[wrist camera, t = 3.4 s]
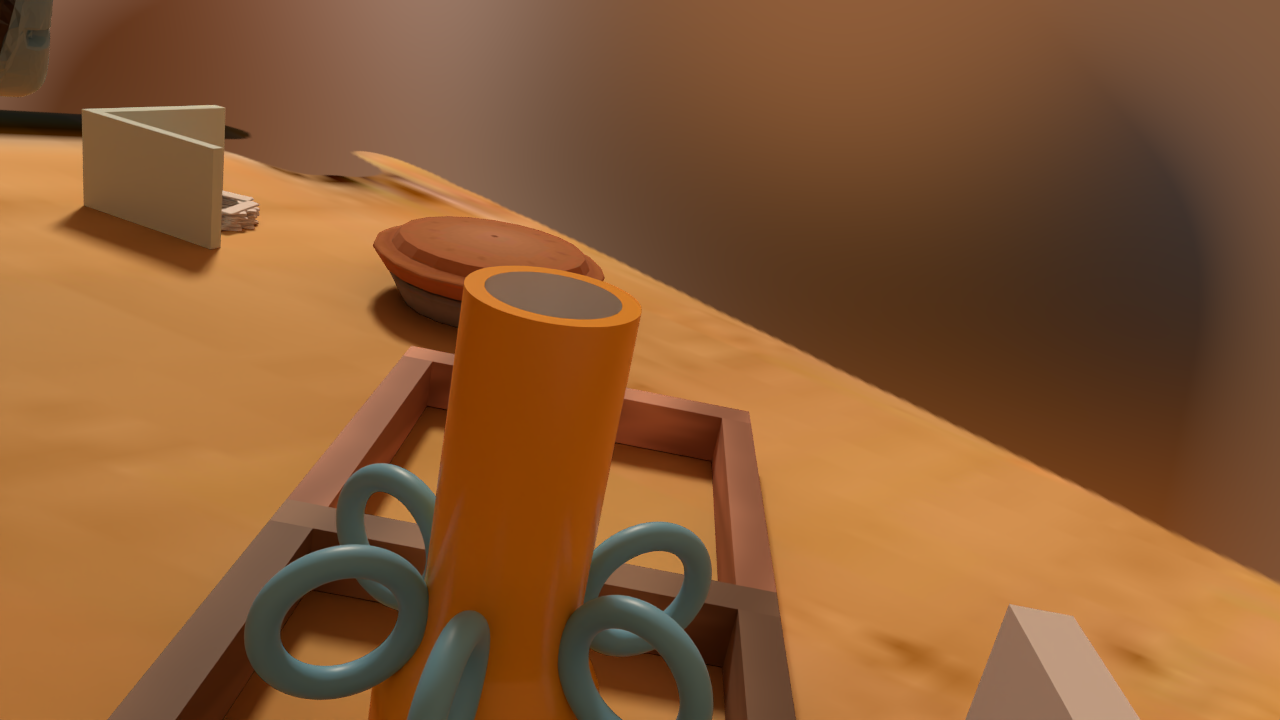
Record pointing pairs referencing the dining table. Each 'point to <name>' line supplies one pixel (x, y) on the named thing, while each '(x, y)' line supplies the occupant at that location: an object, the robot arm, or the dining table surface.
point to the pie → (466, 258)
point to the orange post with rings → (505, 530)
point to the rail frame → (306, 522)
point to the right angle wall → (163, 171)
